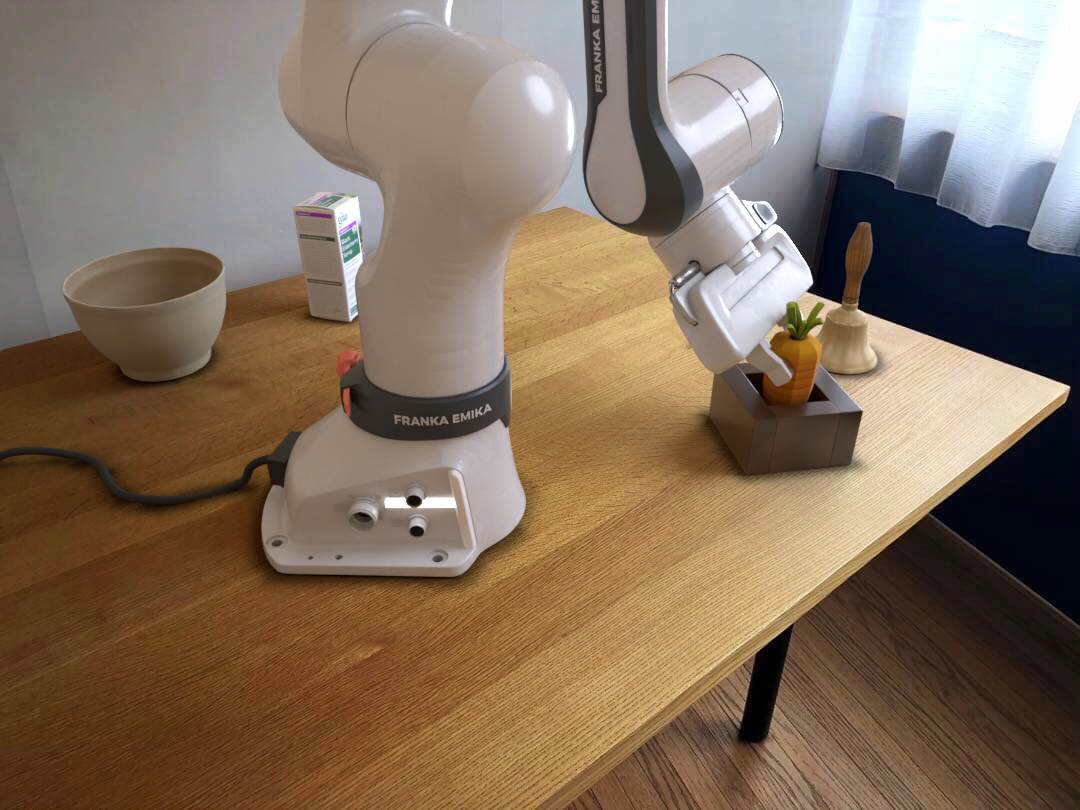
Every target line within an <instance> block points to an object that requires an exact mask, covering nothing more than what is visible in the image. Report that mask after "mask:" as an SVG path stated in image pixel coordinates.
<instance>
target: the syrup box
mask: <svg viewBox="0 0 1080 810" xmlns="http://www.w3.org/2000/svg"><path fill="white" fill-rule="evenodd" d="M292 212H293V218H294V224H295V229H296V236H297V243H298V247H299V248H298V249H299V253H300V261H301V265H302V271H303V277H304V282H305V288H306V294H307V300H308V307H309V312H310V316H312V317H315V318H319V319H325V320H333V321H340V322H347V323H351V322H352V321H353V319H354V318H355V317H358V311H357V302H356V293H355V278H356V274H357V271H358V269H359V267H360V265H361V263H362V262H363V261H364V260H365V259H366V258H367V256H366V251H365V243H364V235H363V227H362V218H361V211H360V203H359V197H358V196H357V195H353V194H350V193H344V192H333V191H317V192H315V193H314V195H312V196H311V197H309V198H307V199H305V200H303V201H301V202H299V203H297V204H295V205H294V206H292Z"/></svg>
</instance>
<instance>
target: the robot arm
mask: <svg viewBox="0 0 1080 810" xmlns="http://www.w3.org/2000/svg"><path fill="white" fill-rule="evenodd" d="M581 1H582V21H583V38H584V39H583V41H584V59H585V78H586V79H585V80H586V122H585V127H584V130H583V145H582V156H581V158H582V162H581V165H582V167H581V168H582V169H581V170H582V177H583V182H584V187H585V190H586V193H587V196H588V198H589V201H590V202H591V205H592V206H593V207H594V208H595V210H596V212H597V213H598V214H599V215H600V216H601V217H602V218H603V219H604V220H605V221H607V222H608V223H609V224H611V225H613V226H614V227H616V228H618V229H620V230H622V231H624V232H626V233H629V234H632V235H637V236H641V237H646V238H647V239H646V240H647V241H648V244H649V246H650V247H651V249H652V251H653V252H654V254H655V255H656V257H657V258H658V259H659V260H660V262H661V264H662V265H663V266H664V267H665V269H666V271H668V273H669V274H670V275H671V277H670V279H669V280H668V287H669V289H668V291H669V296H668V300H669V303H670V304H671V306H672V313H673V316H674V319H675V321H676V323H677V325H678V327H679V329H680V330H681V332H682V334H683V336H684V338H685V339H686V341H687V343H688V344H689V346H690V347H691V349H692V350H693V352H694V354H695V356H696V357H697V359H698V360H699V362H700V363H701V364H702V366H703V367H704V368H705V369H706V370H708V371H710V372H711V373H713V374H714V373H715V374H720V373H722V372H724V371H726V370H728V369H730V368H731V367H733V366H735V365H736V364H738V363H742V362H743V361H744V360H745V361H746V363H749V364H751V365H753V366H754V367H756V368H758V369H759V370H761V371H763V372H764V373H766V374H767V376H768V377H769V378H770V380H771V381H772V382H773V384H774V385H776V386H781V385H783V384H785V383H787V382H789V381H790V380H791V378H792V377H793V375H794V374H795V369H794V368H793V367H792V366H791V364H790V362H789V361H788V360H787V358H784V359H783V360H782V359H780V358H779V357H778V356H777V355H776V354H775V353H773V352H772V351H771V350H770V348H771V345H770V341H769V340H768V339H767V337H766V336H768V334H769V333H770V332H771V331H772V329H774V327H776V326H778V328H782V329H783V331H788V329H787V327H786V325H787V324H789V323H788V318H787V312H786V304H787V303H789V302H793V301H794V302H797V303H798V301H799V300H800V299H801V298H802V297H803V296H804V295H805V293H807V291H808V290H809V289H810V288H811V287H812V286H813V284H814V280H813V276H812V273H811V270H810V267H809V266H808V264H807V262H806V261H805V259H804V258H803V256H802V255H801V253H800V251H799V250H798V248H797V247H796V245H795V244H794V243H793V241H792V240H791V238H790V237H789V235H788V234H787V233H786V231H784V229H783V228H781V226H779V225H777V224H774V223H775V222H776V221H777V219H778V216H777V215H778V214H776V212H775V210H774V208H772V206H771V205H770V203H768V202H767V201H764V200H763V201H761V200H760V201H751V200H750V201H749V200H745V199H739V198H738V196H737V195H736V194H735V193H734V191H733V190H732V189H731V188H730V186H732V184H734V183H735V182H736V181H738V179H740V178H741V177H742V176H743V175H744V174H746V173H748V172H749V171H750V170H751V169H753V168H754V167H755V166H757V165H759V163H761V162H762V161H763V160H764V159H765V158H766V157H767V156H768V155H769V153H770V152H771V151H772V149H773V148H774V147H775V146H776V145H777V144H778V142H779V140H780V138H781V136H782V133H783V129H784V121H785V114H784V112H785V111H784V105H783V100H782V97H781V95H780V92H779V89H778V87H777V85H776V83H775V82H774V80H773V78H772V77H771V75H769V74H768V72H767V71H766V70H765V69H764V68H763V67H762V66H761V65H760V64H758V63H757V62H755V61H753V60H752V59H750V58H748V57H745V56H744V55H740V54H736V53H724V54H720V55H718V56H716V57H712V58H710V59H707V60H704V61H702V62H700V63H698V64H695V65H694V66H691V67H689V68H688V69H685V70H683V71H680V72H678V73H675V74H672V75H669V55H668V54H669V50H668V49H669V48H668V47H669V44H668V43H669V41H668V39H669V38H668V36H669V34H668V33H669V31H668V28H669V27H668V26H669V25H668V23H669V22H668V19H669V18H668V17H669V16H668V0H581ZM453 4H454V0H303V2H302V8H301V9H302V10H301V16H300V19H299V20H300V21H299V25H298V28H297V30H296V33H295V35H294V36H293V38H291V40H290V42H289V43H288V44H287V47H286V48H285V50H284V52H283V55H282V57H281V60H280V64H279V68H278V74H277V92H278V93H277V94H278V99H279V102H280V107H281V109H282V112H283V114H284V117H285V118H286V120H287V122H288V124H289V125H290V126H291V128H292V129H293V130H294V131H295V133H296V134H297V135H298V136H299V137H301V139H302V140H303V141H304V142H305V143H306V144H308V145H309V147H311V148H312V149H313V150H314V151H315V152H316V153H317V154H319V155H320V156H321V157H322V158H323V159H324V160H326V161H327V162H329V163H330V164H331V165H333V166H334V167H337V168H339V169H341V170H343V171H347V172H349V173H351V174H354V175H356V176H359V177H361V178H364V179H366V180H368V181H371V182H374V183H376V185H377V187H378V190H379V191H380V194H381V198H382V202H383V204H382V205H383V217H382V226H381V233H380V237H379V242H378V246H377V248H376V249H374V250H373V251H372V252H371V253H370V254H368V255H367V256H366V259H365V260H364V261H363V262H362V263H361V265H360V267H359V269H358V271H357V274H356V278H355V293H356V302H357V311H358V315H357V318H358V328H359V334H360V343H361V352H362V358H360V357H361V356H360V354H359V353H357V351H356V350H354V349H353V350H352V349H345V350H344V349H343V350H341V351H340V352H339V353H338V355H337V356H336V357H335V359H336V360H335V365H336V366H335V373H336V375H337V377H338V378H340V379H339V394H340V402H341V404H339V405H338V406H337V407H335V408H334V409H333V410H331V411H329V412H328V413H326V414H325V415H324V416H322V417H321V418H320V419H318V420H317V421H316V422H314V423H312V424H311V425H310V426H308V427H307V428H305V429H304V430H303V431H297V430H291V431H290V432H289V433H288V434H287V435H286V436H285V437H284V438H283V440H282V441H280V443H278V445H277V446H276V448H275V449H274V450H272V452H271V453H269V454H265V455H261V456H258V457H256V458H254V459H252V460H251V461H249V462H248V463H247V464H246V465H245V467H244V469H243V473H242V475H241V477H240V478H238V479H235V480H234V481H232V482H230V483H227V484H225V485H222V486H220V487H218V488H215V489H210V490H207V491H203V492H198V493H192V494H184V495H183V494H182V495H151V494H143V493H142V494H141V493H134V492H130V491H127V490H125V489H123V488H122V487H120V486H118V485H117V484H116V482H115V481H114V479H113V477H112V474H110V471H109V470H108V468H107V466H106V465H105V464H104V463H103V461H101V460H100V459H98V458H97V457H95V456H94V455H91V454H87V453H85V452H81V451H80V452H79V451H76V450H75V451H74V450H69V449H63V448H58V447H48V446H20V447H19V446H18V447H12V448H8V449H4V450H1V451H0V462H1V461H4V459H8V458H13V457H17V456H47V457H56V458H61V459H68V460H74V461H79V462H81V463H82V462H83V463H86V464H88V465H90V466H91V467H93V468H94V469H95V470H96V471H97V473H98V475H99V476H100V477H101V480H102V482H103V484H104V486H105V487H106V489H107V490H108V491H109V492H110V493H111V494H112V495H114V496H115V497H116V498H118V499H120V500H123V501H126V502H130V503H135V504H143V505H144V504H145V505H156V506H157V505H158V506H164V505H165V506H173V505H180V504H186V503H190V502H195V501H199V500H202V499H206V498H209V497H214V496H219V495H222V494H227V493H232V492H236V491H237V490H239V489H241V488H243V487H244V486H246V485H247V484H248V483H249V482H250V481H251V479H252V477H253V473H254V471H255V470H256V469H257V468H259V467H262V466H264V465H266V468H267V472H268V477H269V482H270V485H271V486H272V487H271V488H270V490H269V491H268V494H267V497H266V499H265V502H264V505H263V510H262V515H261V529H260V530H261V543H262V549H263V552H264V555H265V558H266V559H267V561H268V563H269V564H270V565H271V566H272V567H273V568H274V570H276V572H278V573H280V574H286V575H287V574H288V575H289V574H290V575H291V574H292V575H326V576H327V575H331V576H332V575H335V576H336V575H337V576H383V577H432V578H434V577H436V578H437V577H438V578H439V577H440V578H453V577H458V576H461V575H463V574H464V573H465V572H467V571H468V570H469V569H470V568H471V566H472V565H473V564H474V562H476V560H477V558H478V557H479V556H480V554H481V553H483V552H484V551H485V550H487V549H488V548H490V547H492V546H494V545H495V544H497V543H498V542H500V541H501V540H503V539H505V538H506V537H507V536H508V535H509V534H510V533H512V532H513V531H514V529H516V527H517V526H518V525H519V523H520V521H521V520H522V518H523V516H524V514H525V511H526V506H527V498H526V493H525V490H524V487H523V485H522V483H521V479H520V477H519V473H518V470H517V465H516V462H515V457H514V453H513V448H512V442H511V435H510V428H509V426H510V424H511V414H512V412H513V381H512V380H513V379H512V370H511V368H510V367H511V366H510V363H509V360H508V355H507V353H506V352H505V285H506V282H505V281H506V274H507V268H508V262H509V259H510V255H511V252H512V249H513V246H514V244H515V241H516V238H517V236H518V233H519V232H520V230H521V228H522V226H523V225H524V224H525V222H526V221H527V220H528V219H529V218H530V217H531V216H533V215H534V214H536V213H537V212H539V211H540V210H542V209H543V208H544V207H546V205H548V204H549V203H550V202H551V201H552V200H553V199H554V197H555V196H556V195H557V194H558V192H559V191H560V189H561V188H562V187H563V185H564V183H565V182H566V180H567V178H568V176H569V174H570V172H571V169H572V167H573V165H574V164H573V163H574V160H575V157H576V153H577V148H578V139H579V119H578V113H577V112H578V111H577V107H576V102H575V99H574V97H573V94H572V92H571V89H570V88H569V85H568V84H567V82H566V80H565V79H564V78H563V77H562V76H561V74H560V73H558V71H556V70H555V69H554V68H553V67H551V65H548V64H547V63H545V62H544V61H542V60H540V59H539V58H537V57H534V56H533V55H532V54H530V53H529V52H527V51H524V50H522V49H521V48H519V47H517V46H515V45H513V44H512V43H509V42H507V41H506V40H503V39H502V38H498V37H495V36H491V35H487V34H486V35H485V34H480V33H474V32H470V31H465V30H459V29H454V28H452V13H453V7H454V6H453ZM800 312H801V316H802V320H805V319H804V316H803V312H802V311H801V310H800Z"/></svg>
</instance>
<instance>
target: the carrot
mask: <svg viewBox="0 0 1080 810" xmlns="http://www.w3.org/2000/svg"><path fill="white" fill-rule="evenodd" d="M824 307H825V303H824V302H821V301H818V302H817V303H816V304H815V305H814V306H813V308H812V309H811V311H810V313H809V314H808V317H807V318H806V320H805V319H804V320H802V316H801V312H802V311H801V309H800V306H799V304H798V301H797V302H794V301H793V302H789V303H787V304H786V312H787V318H788V323H789V324H787V325H786V327H787V329H788V331H784V330H782V331H777V332H776V333H774V335H773V336H772V338H771V339H770V341H769V343H770V345H771V348H770V350H771V351H772V352H773V353H775V354H776V355H777V356H778V357H779V358H780V359H782V360H783V359H784V358H787V360H788V361H789V362H790V364H791V366H792V367H793V368H794V369H795V374H794V375H793V377H792V378H791V380H790V381H789V382H787V383H785V384H783V385H781V386H776V385H774V384H773V382H772V381H771V380H770V378H769V377H768V376H767V374H766V373H764V379H763V399H764V401H765V403H766V404H767V405H768V407H769V406H775V405H786V404H797V403H807V401H808V398H809V396H810V393H811V391H812V388H813V385H814V382H815V378H816V374H817V371H818V366H819V362H820V358H821V353H822V344H821V343H820V342H819V341H818V340H817V339H816V338H815V337H816V336H814V335H812V334H811V333H810V331H812V330H813V329H814V328H815V327H817V326H823V324H824V322H825V319H823V318H822V317H818V315H819V313H820V312H822V310H823V309H824ZM800 311H801V312H800Z"/></svg>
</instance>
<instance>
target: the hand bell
mask: <svg viewBox="0 0 1080 810" xmlns="http://www.w3.org/2000/svg"><path fill="white" fill-rule="evenodd" d="M873 248H874V247H873V235H872V228H871V223H870V222H864V221H862V222H858V223H857V226H856V228H855V230H854V232H853V234H852V236H851V237H850V239H849V242H848V244H847V248H846V252H845V271H846V281H845V287H844V290H843V296H842V302H841V305H840V306H838V307H837V306H836V307H834V308H831V309H830V310H828V311H827V313H826V315H825V318H824V324H823V325H821V329H820V331H819V332H818V334H817V335H816V336H814V337H815V338H816V339H817V340H818V341H819V342H820V343H821V344H822V353H821V358H820V362H819V364H820V365H821V366H822V367H823V368H824V369H825V370H826V371H827V372H828V373H829V372H830V373H833V374H834V373H835V374H840V375H859V374H864V373H867V372H870V371H872V370H873V369H875V368H876V367H877V365H878V357H877V354H876V352H875V351H874V349H873V348H872V347H871V345H870V342H869V337H868V327H869V325H868V324H869V318H868V317H869V316H867V314H866V313H865V312H864V311H862V310H860V309H858V306H859V300H860V299H859V296H860V291H861V286H862V280H863V277H864V276H865V274H866V272H867V270H868V268H869V266H870V262H871V259H872V256H873V255H872V254H873Z"/></svg>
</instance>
